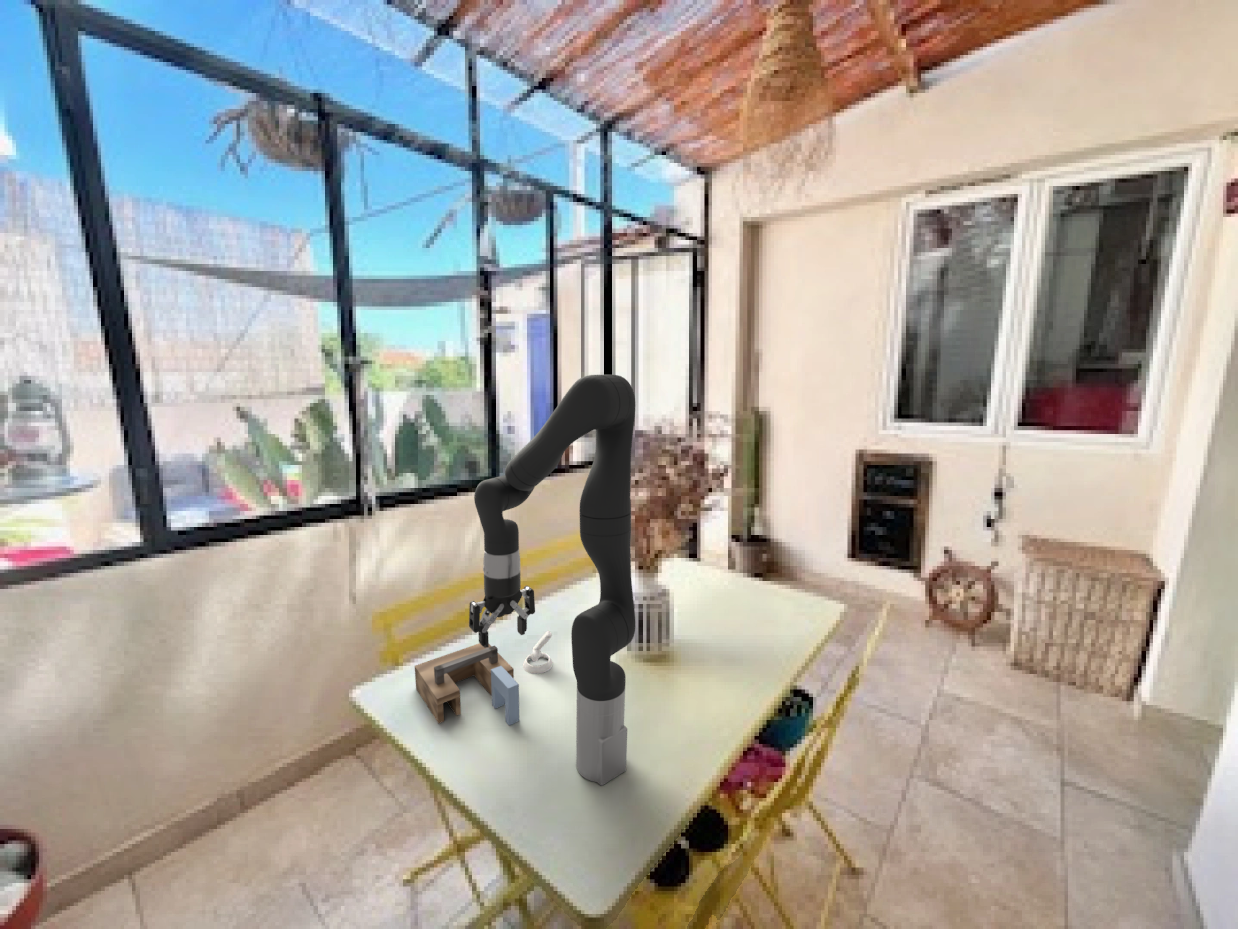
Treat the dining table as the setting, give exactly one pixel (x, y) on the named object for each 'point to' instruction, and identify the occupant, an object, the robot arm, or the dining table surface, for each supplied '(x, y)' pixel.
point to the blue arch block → (505, 693)
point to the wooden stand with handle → (456, 676)
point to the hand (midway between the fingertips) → (503, 639)
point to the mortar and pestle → (538, 654)
